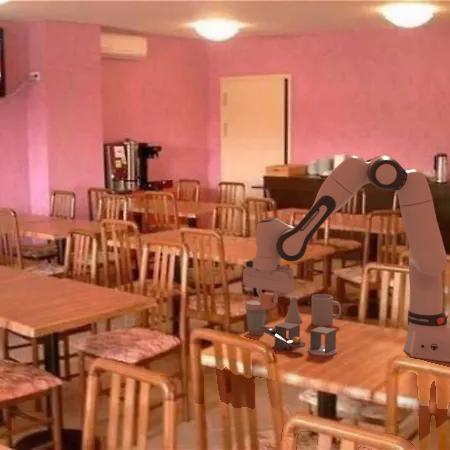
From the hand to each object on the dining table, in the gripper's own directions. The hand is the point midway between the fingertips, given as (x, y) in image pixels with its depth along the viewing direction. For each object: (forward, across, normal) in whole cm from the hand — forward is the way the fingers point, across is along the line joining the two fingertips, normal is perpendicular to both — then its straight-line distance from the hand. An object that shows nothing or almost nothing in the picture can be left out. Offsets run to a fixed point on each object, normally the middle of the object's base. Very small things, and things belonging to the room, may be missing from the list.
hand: (268, 301), depth 274 cm
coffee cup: (+17, +13, -11) cm, 24 cm away
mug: (+16, -1, -38) cm, 41 cm away
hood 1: (+16, -4, -6) cm, 18 cm away
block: (+2, 0, 0) cm, 2 cm away
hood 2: (+15, -19, -6) cm, 25 cm away
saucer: (+16, -19, -6) cm, 26 cm away
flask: (+17, +11, -32) cm, 38 cm away
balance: (+16, -6, 0) cm, 17 cm away
